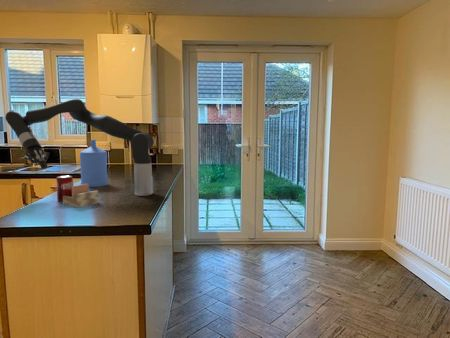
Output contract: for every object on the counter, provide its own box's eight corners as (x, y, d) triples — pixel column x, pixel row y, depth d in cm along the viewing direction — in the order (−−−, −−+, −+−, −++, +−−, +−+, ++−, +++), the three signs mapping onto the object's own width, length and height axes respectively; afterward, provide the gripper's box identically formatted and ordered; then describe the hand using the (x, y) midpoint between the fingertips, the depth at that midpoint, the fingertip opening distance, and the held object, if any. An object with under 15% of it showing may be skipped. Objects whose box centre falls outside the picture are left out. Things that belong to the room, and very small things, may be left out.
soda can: (77, 199, 164) (76, 176, 162) (66, 202, 157) (65, 178, 155) (64, 198, 166) (63, 175, 164) (53, 201, 159) (52, 177, 157)
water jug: (99, 188, 195) (97, 140, 191) (75, 186, 198) (73, 140, 194) (113, 183, 210) (111, 139, 206) (90, 182, 213) (89, 139, 209)
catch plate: (87, 201, 160) (87, 183, 159) (89, 201, 159) (88, 183, 158) (72, 204, 152) (71, 186, 151) (73, 204, 152) (73, 186, 151)
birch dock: (83, 200, 163) (82, 188, 163) (98, 202, 158) (98, 190, 157) (63, 204, 154) (62, 191, 153) (78, 207, 148) (78, 194, 148)
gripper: (39, 146, 178) (54, 171, 174) (13, 148, 167) (29, 174, 162) (44, 137, 175) (60, 161, 171) (19, 138, 163) (35, 164, 159)
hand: (45, 167), depth 167 cm, fingers closed
